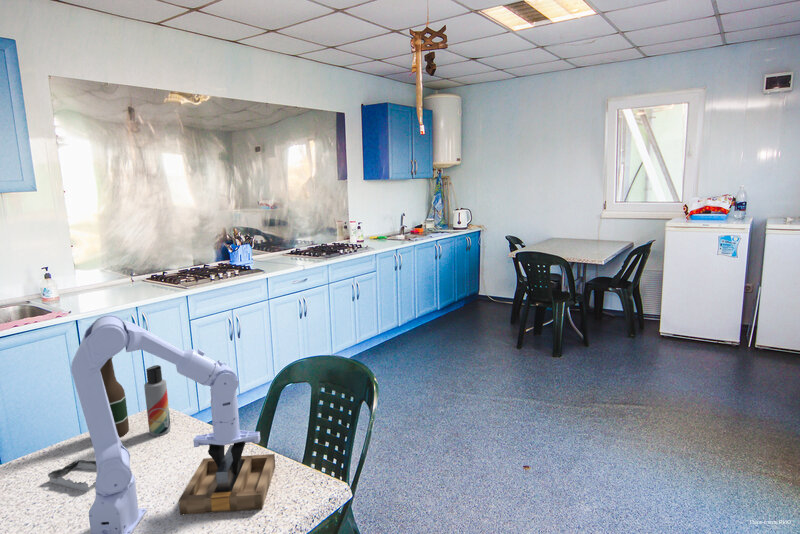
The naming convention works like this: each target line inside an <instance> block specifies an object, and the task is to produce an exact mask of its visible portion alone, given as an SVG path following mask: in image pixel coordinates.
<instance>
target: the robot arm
mask: <svg viewBox="0 0 800 534" xmlns="http://www.w3.org/2000/svg"><path fill="white" fill-rule="evenodd" d="M124 348H125V353H130V352H135V351H140V350H142V351H144V352H147V353H148V354H151V355H153V356H156V357H157V358H160V359H161V360H164V361H166V362H169V363H171V364H173V365H175V367H176V368H175V369H176V372H177V373H178V374H180V375H181V376H184V377H186V378H188V379H189V380H192V381H194V382H196V383H198V384H200V385H202V386H207V387H210V411H211V420H212V421H211V423H212V432H210V433H205V434H199V435H195V436H194V438H193V439H192V440H193V448H199V447H200V446H209V447H208V450H207V453H208V455H209V456H210V458H213V460H214V461H215V463H216V465H217V467H218V468H219V466H220V464H221V462H222V460H223V458H224V456H225V454H226V453H225V446H227V445H228V446H229V445H233V446H232V448H231V453H232V457H233V466H234V475H235V474H238V472H239V467H240V460H241V456H243V451H244V448H245V446H246V444H247V443H248V444H249V443H253V444H260V441H261V432H260V431H251V430H243V429H242V430H241V429H240V418H239V405H238V403H239V402H238V395H237V389H238V387H239V385H240V384H239V383H240V381H239V380H238V376H237V375H236V373H235V372H234V371H233V369H232V368H231V367H230V366H229V365H227V363H225V362H223V361H221V360H217V361H216V360H215V359H212V358H211V357H210V356H209V357H208V356H207V355H205V354H206V353H205V351H203V350H202V349H201V348H199V349H198V350H196V349H193V348H191V349H187V350H182V349H181V348H179V347H177V346H175V345H173V344H172V343H170V342H168V341H166V340H165V339H163V338H161V337H160V336H157V335H156V334H155V333H153V332H151V331H148V329H146V328H143V327H141V326H139V325H138V324H135V323H133V322H132V321H128V320H125V322H124V320H123V319H122V318H120V317H119V316H116V315H113V314H106V315H103V316H100V317H98V318H96V320H95V321H94V322H92V323H91V325H89V327H87V329H86V330H85V331H84V334H83V337H82V339H81V342H80V343H79V346H78V348H77V350H76V352H75V355H74V357H73V358H72V361H71V366H70V370H71V371H70V372H71V374H72V377H73V381H74V385H75V388H76V392H77V396H78V399H79V403H80V406H81V408H82V413H83V417H84V420H85V423H86V427H87V431H88V433H89V437H90V440H91V444H92V447H93V452H94V460H96V465H97V469H96V477H95V482H96V486H95V487H94V488H95V489H94V490H95V496H94V497H95V498H94V501H93V503H92V505H91V507H90V509H89V510H88V519H89V527H90V528H89V529H90V534H132V533H133V532H134V530H135V529H136V528H137V526H138V525H139V523H140V521H141V520H142V519H143V517H144V516H145V514H146V512H147V511H148V508H147V507H144V508H141V507H140V508H139V502H138V494H137V485H136V478H135V475H134V474H133V473H132V470H131V469H132V468H131V462H130V461H131V453H130V451H129V450H128V449H127V448H126V447H125V446H124V445H123V444H122V440H121V437H120V438H119V436H118V433H117V429H116V426H115V422H114V419H113V415H112V411H111V408H110V404H109V400H108V397H107V393H106V390H105V386H104V382H103V379H102V375H101V371H100V369H101V368H102V367H103V365H104V364H105V363H106V362H107V360H108V359H110V358H111V357H114V356H116V355H118V354H119V353H120V352H122V351H123V350H124Z"/></svg>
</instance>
